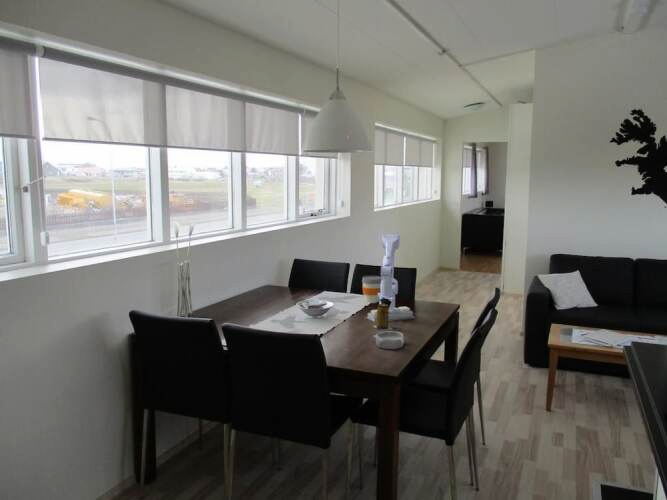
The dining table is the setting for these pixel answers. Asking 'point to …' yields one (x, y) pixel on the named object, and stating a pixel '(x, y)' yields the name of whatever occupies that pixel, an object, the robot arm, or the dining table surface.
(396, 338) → the dish
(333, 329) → the dining table surface
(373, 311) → the sage key
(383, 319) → the condiment
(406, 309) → the ivory key
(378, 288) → the reusable coffee cup
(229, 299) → the dining table surface
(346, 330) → the dining table surface
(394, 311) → the bluegrey key
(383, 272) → the robot arm
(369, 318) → the keypad
